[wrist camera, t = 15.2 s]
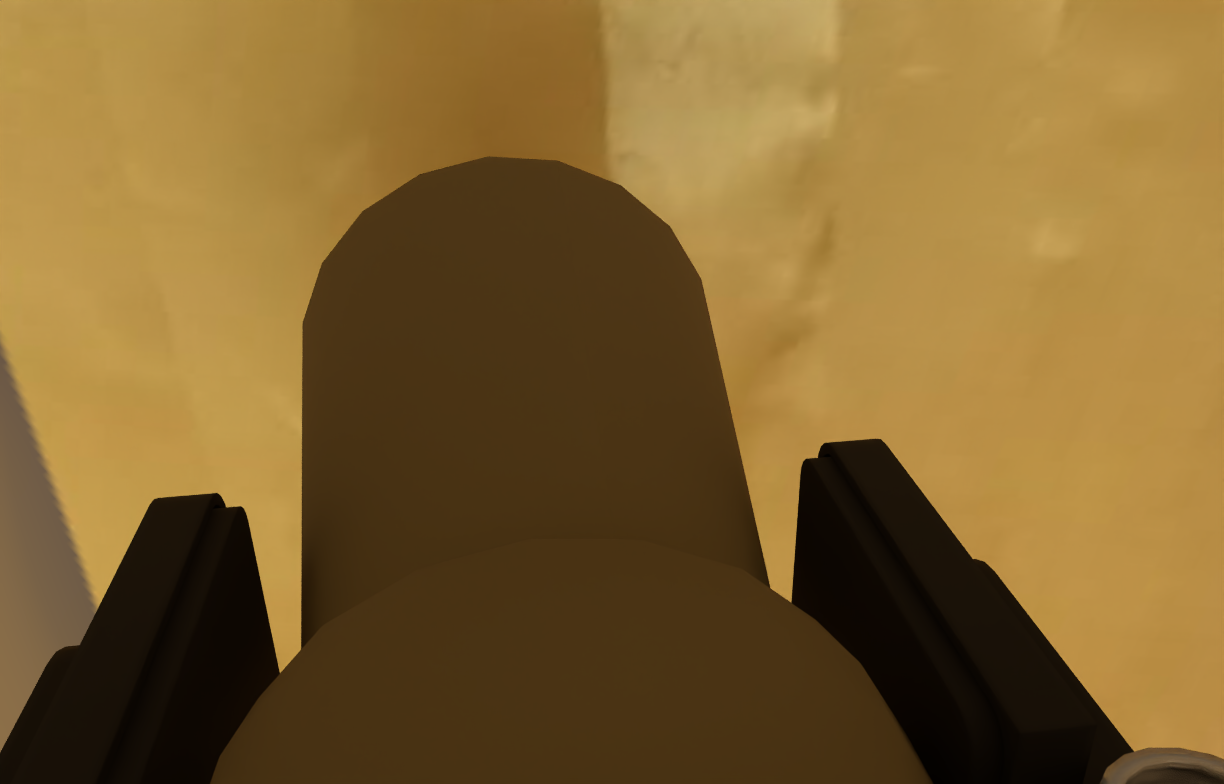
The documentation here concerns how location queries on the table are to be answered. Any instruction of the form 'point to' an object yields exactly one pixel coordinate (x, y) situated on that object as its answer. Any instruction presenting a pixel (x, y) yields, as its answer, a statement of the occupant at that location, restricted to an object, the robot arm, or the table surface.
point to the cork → (538, 518)
